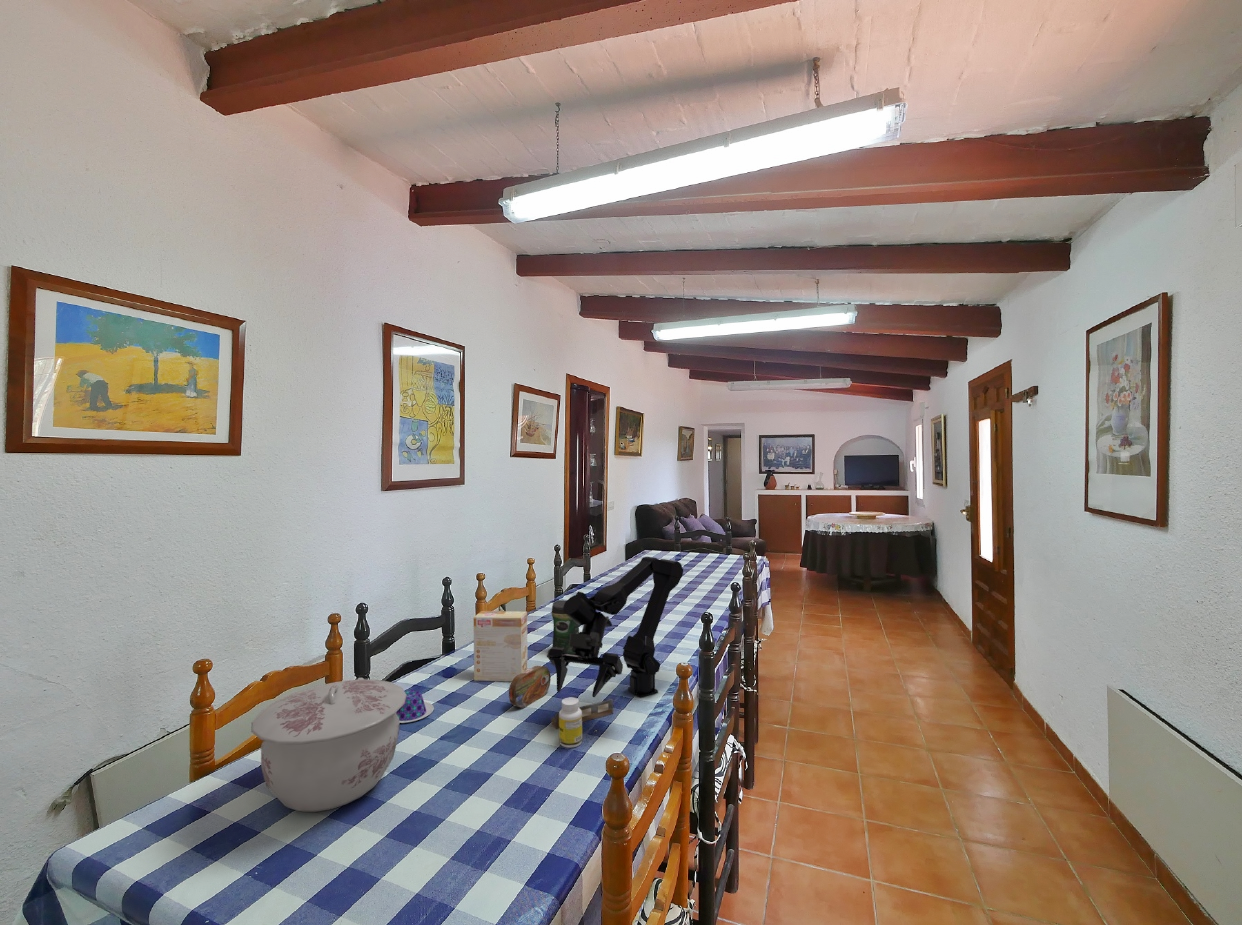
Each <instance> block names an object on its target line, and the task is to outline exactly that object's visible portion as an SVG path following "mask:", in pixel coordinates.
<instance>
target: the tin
mask: <svg viewBox="0 0 1242 925" xmlns="http://www.w3.org/2000/svg"><path fill="white" fill-rule="evenodd" d="M551 681H552V680H551V672H550V670H549V668H548V667H547V666H544V665H542V666H541V665H535V666H533V667H531V668H528V670H527V671H525V672H523V673H521V674H519V675H517V676H516V677H515V678H514V679H513V680H512V682H510V684H509V687H508V698H509V702H510V704H511V705H512V706H514V707H517V708H519V709H524V708H526V707H528V706H529V705H531V704H532V703H534V702H537V701H538V700H540V699H541V698H543V697H544V696H545V695H546V694H547V693H548V691H549V689H550V685H551Z"/></svg>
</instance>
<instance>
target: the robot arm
mask: <svg viewBox="0 0 1242 925" xmlns="http://www.w3.org/2000/svg"><path fill="white" fill-rule="evenodd" d="M683 575H684V568H683V565H682V563H681V562H680V561H676V560H670V559H666V558H661V559H659V558H657V557H651V556H643V557H642V558H641V559H640V561H639V562H638V563H637V564H636V565H634V566H633V567H632V568H631V569H630V570H629V571H628V572H627V573H626V574H624V575H623V576H622V577H621V578H620V579H619V580H617V581H616V582H615V583H613V584H610V585H609V584H608V585H606V586H604V587H602V588H601V589H599V590H598V591H596V592H595V594H594V595H593V596H592V595H591V597H587V595H586V594H585V593H584V592H582V591H577V592H576V594H575V595H572V596H570V597H568V599H567V600H566V602H565V604H564V607H563V611H564V613H565V614H566V615H568V616H569V617H570V618H571V619H572V620H573V621H575V622H576V623H577V624H578V625H579V626H582V630H581V631H579V634H574V633H571V635H570V641H569V647H573V648H572V650H573V652H575V655H574V654H568V653H567V652H566V650H565V648H558V647H552V646H551V647H550V649H548V651H547V655H546V657H547V658H548V660H549V661H550V663H551V665H552V666H553V667H555V672H556V692H558V693H560V692H561V690H562V689H563V685H564V682H565V678H566V676H567V674H568V671H569V669H568V666H569V664H570V663H573V664H582V665H587V666H588V665H590V666H598V667H599V668H598V673H597V677H596V679H595V683H594V686H593V691H592V694H591V696H592V697H593V698H596V697H597V695H598V694H599V693H600V691H601V690H602V689H603V688H604V687H605V685H606V684H607V683H608V682H609V681H610V680H611V679H612V678H616V676H617V675H622V673H623V668H624V664H623V662H622V660H621V658H620V655H618V654H617V653H608V652H604V653H603V654H602V657H599V653H600V650H601V649H602V648H603V639H604V635H605V630H606V628H610V627H612V626H613V624H612V621H611V620H610V618H609V616H606V615H605V614H608V615H613V616H616V615H618V614H619V613H620V611H621V612H622V609H623V608H624V607H625V606H626V604H627V601H628V598H629V596H630V595H631V594H632V593H633V592H634V591H635V590H637V589H638V587H640V586H641V585H642V584H643V583H644V582H645V581H646V580H647V579H648V578H649V577H651V576H652V581H653V588H652V590H651V593H650V597H649V600H648V602H647V604H646V607H645V609H644V613H643V615H642V618H641V622H640V623H639V626H638V629H637V632H636V633H635V634H634V635H633V636H632V635H628V636H627V638H626V641H625V644H624V645H623V647H622V649H623V651H622V657H623V660H624V662H625V665H626V667H627V669H630V675H629V687H628V688H627V690H628V691H629V692H631V693H632V694H634V695H635V696H637V697H638V698H642V697H646V696H650V695H651V696H652V695H654V694H658V692H659V690H658V689H657V688H656V674H657V673H659V672H660V669H661V663H660V662H659V661H658V660H657V659H656V658H655V651H656V647H655V642H654V640H655V639H654V638H655V635H656V632H657V630H658V626H659V624H660V622H661V618H662V615H663V613H664V610H665V606H666V605H667V600H668V599H669V596H670V593H671V591H673V590H674V588H676V587H677V586H678V585H679V582H680V581H681V579H682V577H683ZM603 613H605V614H603Z"/></svg>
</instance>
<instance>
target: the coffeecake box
mask: <svg viewBox="0 0 1242 925" xmlns="http://www.w3.org/2000/svg"><path fill="white" fill-rule="evenodd" d="M527 670H529V668H528V611H511V610H509V611H507V610H506V611H505V610H500V611H499V610H481V611H479V612H478V613H477V614H476V615H474V616H473V681H475V682H477V681H478V682H479V681H480V682H481V681H483V682H484V681H485V682H510V683H511V682H512V680H513V679H514V678H515V677H516V676H517V675H519V674H521V673H523V672H525V671H527Z"/></svg>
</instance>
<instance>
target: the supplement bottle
mask: <svg viewBox="0 0 1242 925" xmlns="http://www.w3.org/2000/svg"><path fill="white" fill-rule="evenodd" d="M579 707H580V700H579V699H578V698H577V697H572V696H569V697H566V698H563V699H562V700H561V709H560V711H559V712H558V713H559V729H558V730H559V731H558V734H559V735H558V737H559V738H558V740H559V745H560V746H562V747H563V748H568V749H569V748H571V749H572V748H576V747H578V746H580V745H581V744H582V743H583V722H582V711H581V709H580V708H579Z"/></svg>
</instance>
